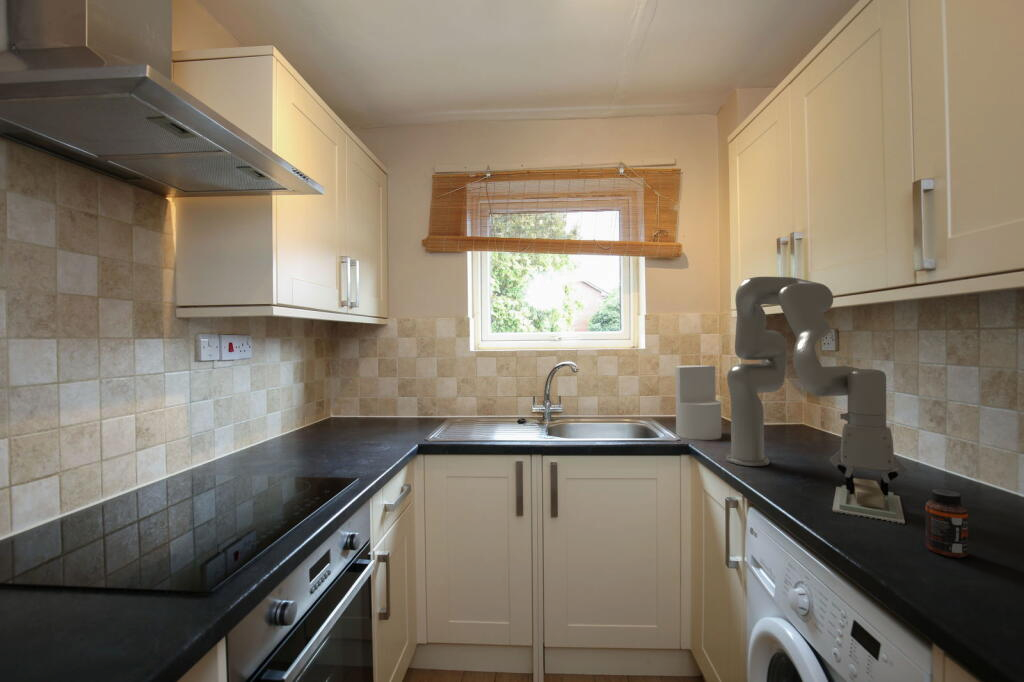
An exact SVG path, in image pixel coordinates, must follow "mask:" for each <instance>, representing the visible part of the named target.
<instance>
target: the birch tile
mask: <svg viewBox="0 0 1024 682" xmlns="http://www.w3.org/2000/svg"><path fill="white" fill-rule="evenodd" d="M853 495H854V498H855V500H856V503H857V504H858V505H865V506H872V507H879V508H884V494H883V493H882V491H881V489H880V484H879V483H878V482H877V480H875V479H874V480H873V479H865V478H855V477H853Z"/></svg>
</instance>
